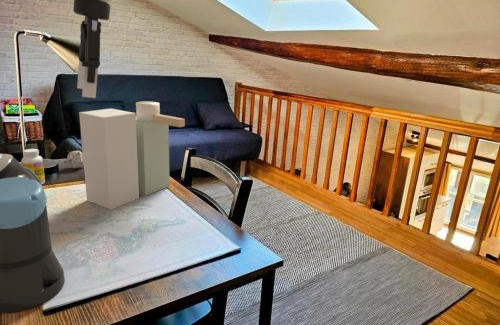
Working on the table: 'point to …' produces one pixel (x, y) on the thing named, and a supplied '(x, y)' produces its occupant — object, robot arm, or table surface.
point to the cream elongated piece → (155, 114)
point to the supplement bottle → (34, 163)
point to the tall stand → (110, 156)
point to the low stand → (152, 156)
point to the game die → (75, 159)
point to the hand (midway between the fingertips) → (85, 92)
